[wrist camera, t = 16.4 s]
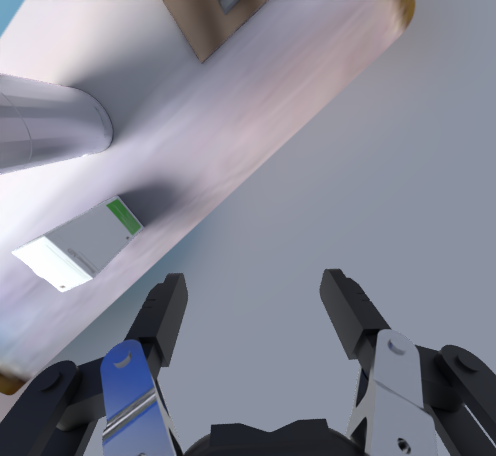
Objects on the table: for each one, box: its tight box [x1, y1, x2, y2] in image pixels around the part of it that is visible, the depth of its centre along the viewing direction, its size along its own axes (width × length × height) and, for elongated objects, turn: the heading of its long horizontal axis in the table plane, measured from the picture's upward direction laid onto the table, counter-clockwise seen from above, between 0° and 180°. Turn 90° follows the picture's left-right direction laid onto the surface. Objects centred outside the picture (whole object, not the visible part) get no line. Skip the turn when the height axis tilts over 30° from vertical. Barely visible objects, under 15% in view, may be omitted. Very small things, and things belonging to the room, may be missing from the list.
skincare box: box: [12, 196, 144, 292], centre depth 32 cm, size 8×7×16 cm
